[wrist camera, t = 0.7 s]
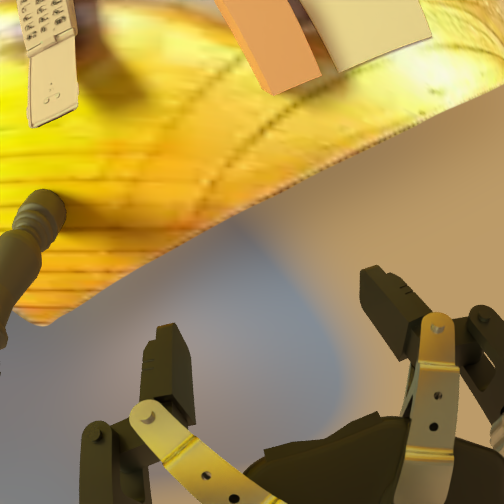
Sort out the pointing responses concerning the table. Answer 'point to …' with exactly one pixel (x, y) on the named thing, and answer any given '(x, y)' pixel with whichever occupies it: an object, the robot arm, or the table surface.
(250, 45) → the card box
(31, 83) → the mobile phone
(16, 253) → the candle holder
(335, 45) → the beige flat plate
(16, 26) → the table surface
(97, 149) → the table surface
